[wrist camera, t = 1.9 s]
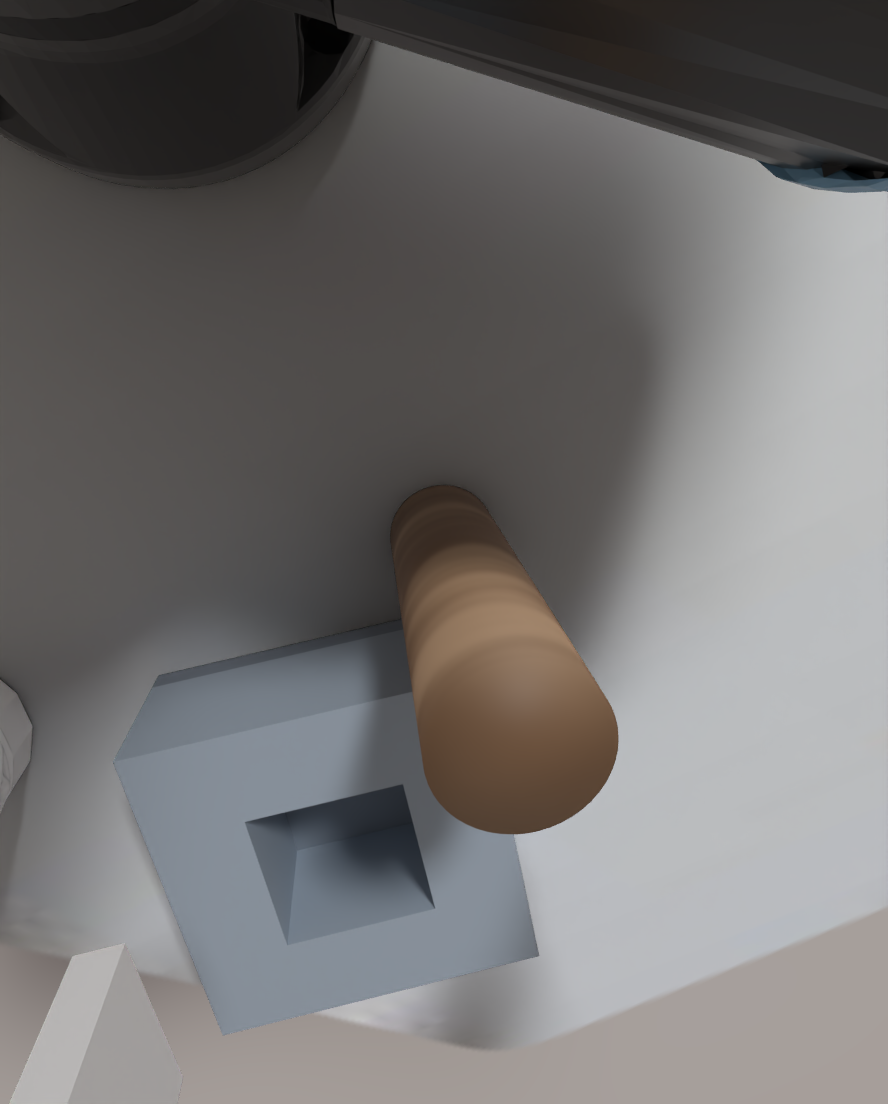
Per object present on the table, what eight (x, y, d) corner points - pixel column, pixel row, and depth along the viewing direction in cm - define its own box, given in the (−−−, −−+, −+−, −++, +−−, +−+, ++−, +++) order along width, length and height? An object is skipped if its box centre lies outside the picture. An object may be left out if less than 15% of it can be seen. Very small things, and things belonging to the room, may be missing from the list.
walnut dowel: (379, 498, 29) (402, 687, 15) (483, 474, 29) (604, 639, 15) (402, 594, 30) (444, 854, 16) (501, 572, 30) (629, 808, 16)
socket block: (158, 675, 30) (112, 762, 24) (457, 606, 31) (480, 675, 25) (245, 913, 34) (222, 1035, 28) (509, 848, 34) (539, 955, 29)
